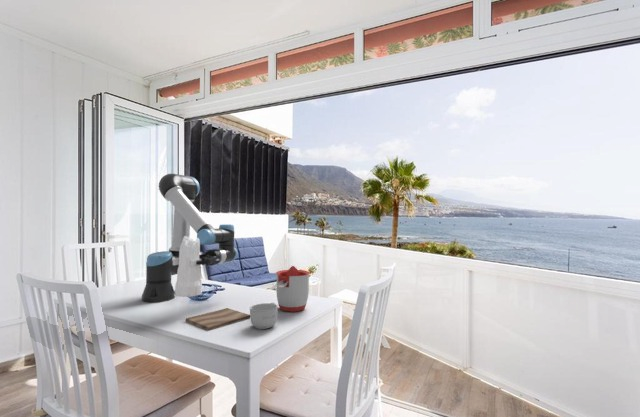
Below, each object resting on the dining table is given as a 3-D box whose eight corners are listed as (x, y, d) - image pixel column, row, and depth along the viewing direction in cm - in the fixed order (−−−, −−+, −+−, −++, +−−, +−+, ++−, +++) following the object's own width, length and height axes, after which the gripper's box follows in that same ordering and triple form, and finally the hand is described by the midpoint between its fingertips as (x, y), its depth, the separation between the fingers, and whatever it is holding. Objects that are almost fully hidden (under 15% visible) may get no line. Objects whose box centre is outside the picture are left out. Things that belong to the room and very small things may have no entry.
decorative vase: (205, 294, 144) (208, 237, 145) (180, 298, 137) (183, 237, 137) (195, 289, 152) (197, 235, 152) (171, 292, 145) (173, 235, 145)
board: (185, 321, 134) (185, 318, 134) (227, 310, 150) (227, 308, 150) (208, 330, 124) (208, 327, 124) (250, 317, 140) (250, 315, 140)
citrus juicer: (266, 311, 150) (266, 266, 151) (288, 302, 165) (289, 262, 166) (294, 316, 142) (295, 270, 143) (315, 307, 157) (315, 265, 158)
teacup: (264, 333, 122) (265, 311, 122) (243, 327, 128) (243, 306, 128) (287, 323, 134) (287, 303, 134) (267, 318, 140) (267, 299, 140)
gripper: (233, 266, 159) (201, 274, 137) (196, 262, 165) (161, 269, 144) (233, 250, 159) (202, 256, 137) (197, 247, 165) (162, 252, 144)
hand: (181, 263), depth 140 cm, fingers closed on decorative vase, 8 cm apart
